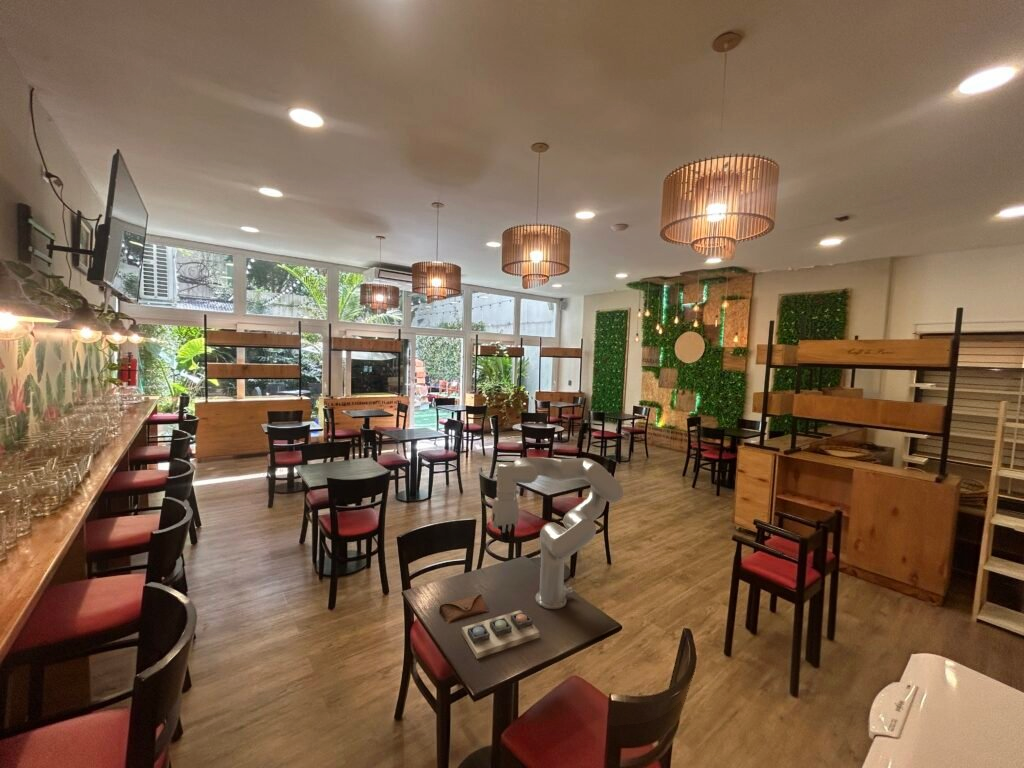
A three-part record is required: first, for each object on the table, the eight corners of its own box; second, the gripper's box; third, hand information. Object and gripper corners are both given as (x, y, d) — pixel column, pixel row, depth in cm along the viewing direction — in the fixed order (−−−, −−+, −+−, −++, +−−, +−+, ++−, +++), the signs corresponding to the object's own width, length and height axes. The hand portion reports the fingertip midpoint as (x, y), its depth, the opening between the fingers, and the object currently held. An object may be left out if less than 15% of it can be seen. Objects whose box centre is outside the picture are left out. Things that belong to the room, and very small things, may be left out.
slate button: (481, 630, 146) (481, 625, 145) (486, 637, 142) (486, 632, 142) (470, 634, 144) (471, 628, 144) (475, 641, 140) (475, 635, 140)
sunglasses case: (446, 624, 152) (443, 604, 154) (440, 624, 157) (438, 605, 160) (490, 611, 160) (487, 592, 163) (483, 611, 166) (480, 593, 169)
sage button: (503, 624, 150) (503, 618, 149) (508, 630, 146) (508, 625, 146) (493, 627, 148) (493, 621, 148) (497, 634, 144) (498, 628, 144)
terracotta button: (523, 617, 154) (523, 612, 153) (528, 624, 150) (529, 618, 150) (514, 620, 152) (514, 615, 152) (519, 627, 148) (519, 621, 148)
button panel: (520, 614, 159) (520, 604, 159) (539, 637, 147) (539, 626, 146) (461, 632, 148) (461, 622, 147) (476, 658, 135) (477, 647, 135)
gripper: (518, 489, 167) (517, 533, 168) (484, 494, 160) (483, 540, 161) (527, 495, 160) (526, 541, 162) (492, 500, 153) (491, 548, 154)
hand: (504, 540), depth 161 cm, fingers closed
